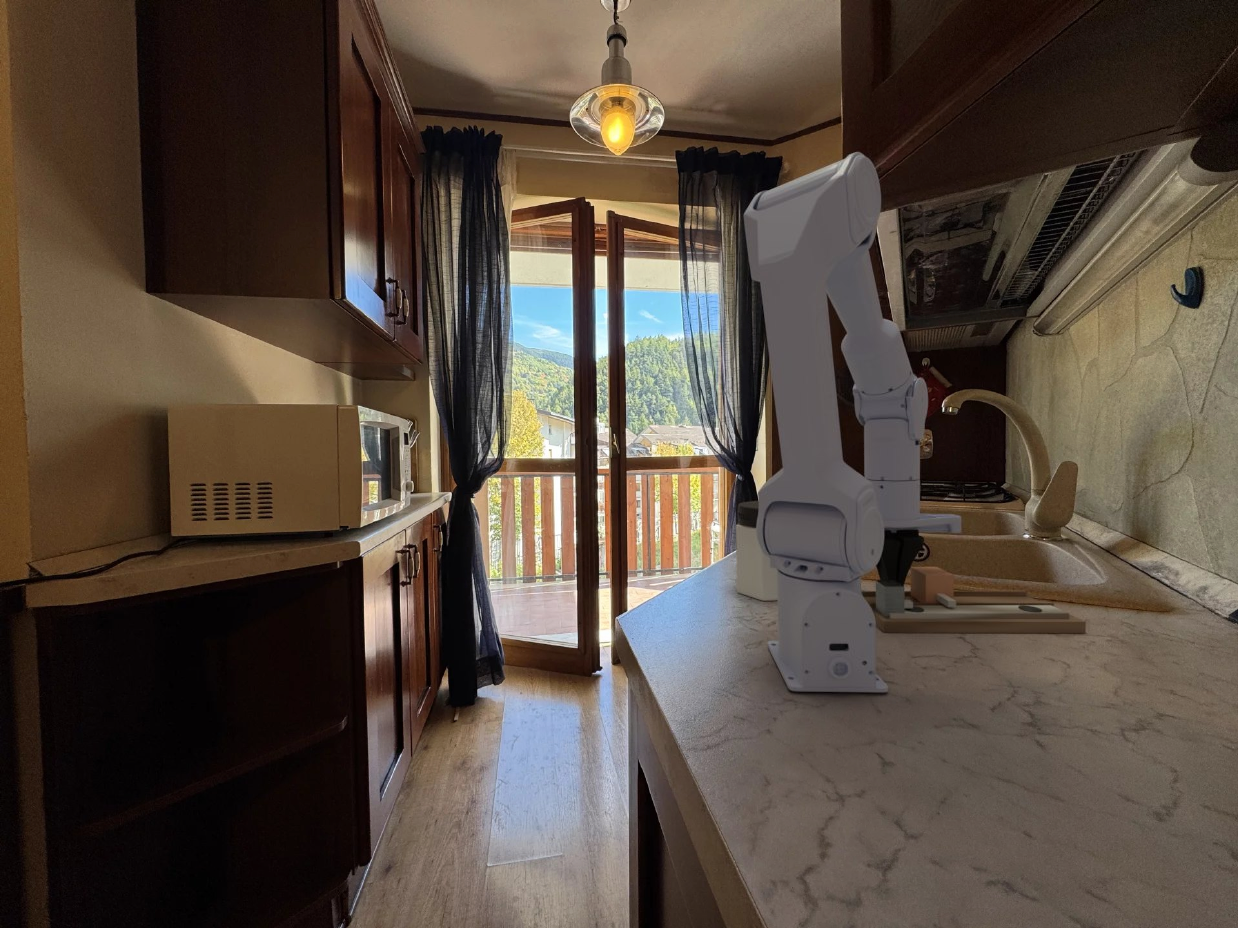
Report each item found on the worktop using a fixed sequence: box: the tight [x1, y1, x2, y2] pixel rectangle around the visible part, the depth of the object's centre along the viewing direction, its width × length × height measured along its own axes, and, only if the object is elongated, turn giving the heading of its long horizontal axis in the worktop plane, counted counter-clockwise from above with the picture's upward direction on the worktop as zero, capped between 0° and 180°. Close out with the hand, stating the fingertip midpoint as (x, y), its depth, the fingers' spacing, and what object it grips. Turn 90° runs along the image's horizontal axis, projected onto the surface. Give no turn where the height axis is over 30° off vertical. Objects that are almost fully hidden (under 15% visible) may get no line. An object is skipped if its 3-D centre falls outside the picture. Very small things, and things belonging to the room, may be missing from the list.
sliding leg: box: [910, 566, 956, 607], centre depth 58 cm, size 6×3×4 cm, turn 175°
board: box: [861, 590, 1087, 634], centre depth 57 cm, size 9×20×2 cm, turn 85°
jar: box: [735, 500, 778, 602], centre depth 69 cm, size 9×8×12 cm
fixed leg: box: [875, 579, 913, 619], centre depth 56 cm, size 2×3×4 cm
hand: (891, 593), depth 60 cm, fingers closed
